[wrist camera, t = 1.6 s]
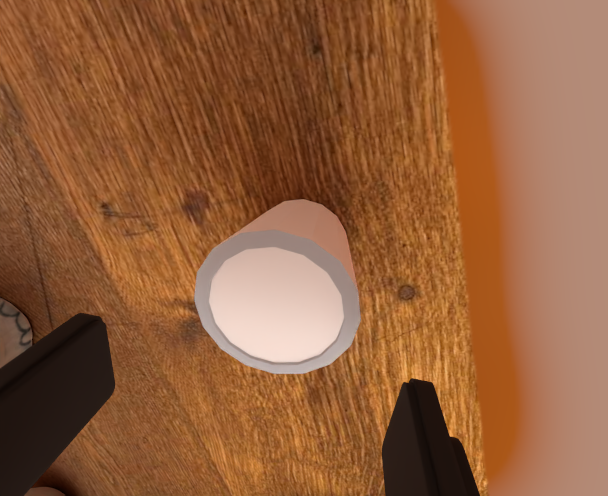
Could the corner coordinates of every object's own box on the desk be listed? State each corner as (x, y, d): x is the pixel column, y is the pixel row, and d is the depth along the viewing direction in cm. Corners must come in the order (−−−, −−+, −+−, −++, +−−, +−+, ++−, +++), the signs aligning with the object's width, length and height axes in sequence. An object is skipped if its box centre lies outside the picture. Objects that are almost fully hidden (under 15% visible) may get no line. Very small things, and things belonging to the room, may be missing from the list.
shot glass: (244, 183, 18) (183, 222, 11) (365, 192, 17) (372, 240, 11) (247, 287, 21) (200, 365, 14) (352, 299, 20) (351, 387, 13)
